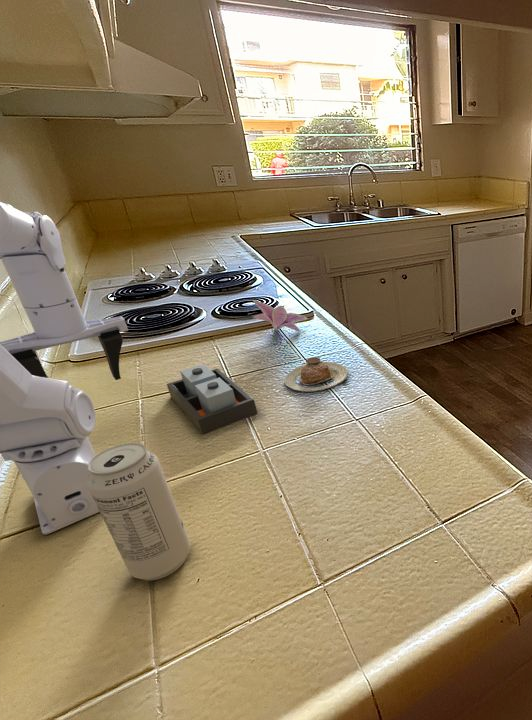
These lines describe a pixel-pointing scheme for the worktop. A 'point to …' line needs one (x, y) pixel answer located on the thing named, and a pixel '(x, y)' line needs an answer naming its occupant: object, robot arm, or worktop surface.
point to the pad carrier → (218, 418)
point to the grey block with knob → (196, 378)
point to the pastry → (316, 374)
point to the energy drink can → (138, 510)
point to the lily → (278, 317)
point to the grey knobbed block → (215, 395)
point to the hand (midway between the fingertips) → (86, 386)
